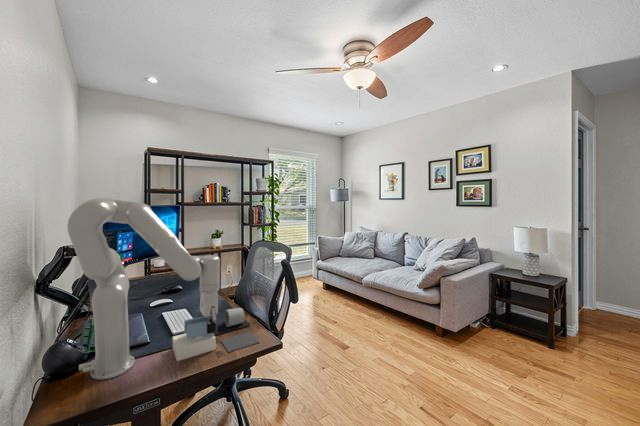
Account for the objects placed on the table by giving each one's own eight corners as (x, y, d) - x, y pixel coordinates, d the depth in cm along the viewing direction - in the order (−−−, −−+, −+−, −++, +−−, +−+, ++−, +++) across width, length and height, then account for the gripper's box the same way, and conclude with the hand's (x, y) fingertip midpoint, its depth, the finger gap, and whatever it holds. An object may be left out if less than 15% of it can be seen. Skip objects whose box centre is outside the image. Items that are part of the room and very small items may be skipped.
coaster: (228, 352, 109) (228, 351, 109) (221, 341, 117) (221, 340, 117) (259, 342, 117) (259, 341, 117) (250, 332, 125) (250, 331, 125)
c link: (187, 339, 106) (187, 326, 106) (184, 332, 111) (184, 320, 111) (216, 331, 113) (216, 319, 112) (212, 325, 118) (212, 314, 117)
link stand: (176, 361, 103) (176, 332, 102) (172, 348, 111) (172, 322, 110) (215, 349, 111) (215, 323, 110) (209, 338, 119) (209, 313, 118)
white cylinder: (245, 324, 132) (245, 309, 131) (228, 329, 127) (228, 313, 127) (238, 316, 140) (237, 302, 140) (221, 321, 136) (221, 305, 135)
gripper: (195, 281, 117) (194, 323, 119) (205, 294, 103) (204, 341, 105) (213, 279, 122) (213, 318, 123) (225, 291, 108) (224, 335, 109)
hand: (209, 328), depth 114 cm, fingers closed on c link, 6 cm apart
